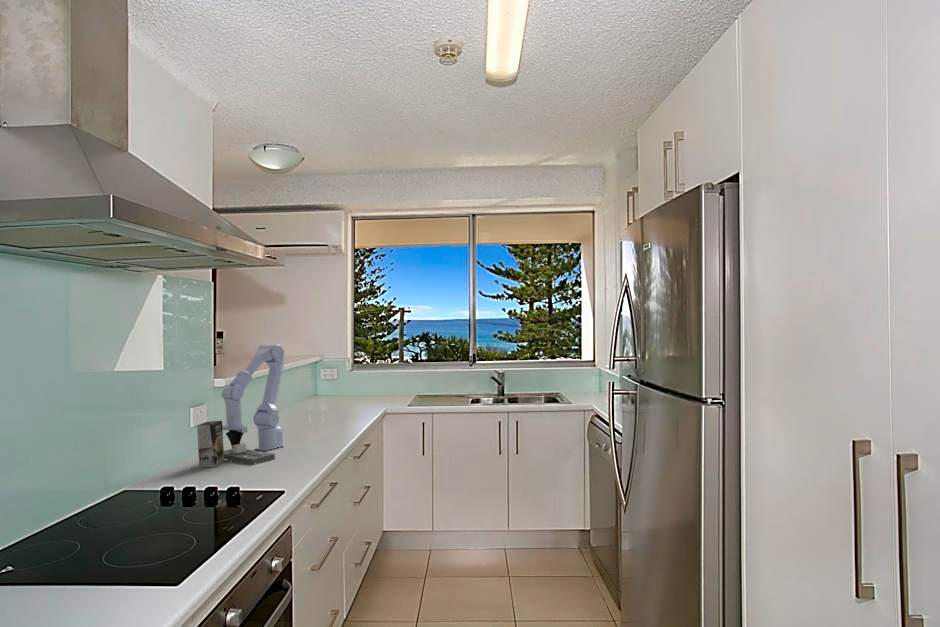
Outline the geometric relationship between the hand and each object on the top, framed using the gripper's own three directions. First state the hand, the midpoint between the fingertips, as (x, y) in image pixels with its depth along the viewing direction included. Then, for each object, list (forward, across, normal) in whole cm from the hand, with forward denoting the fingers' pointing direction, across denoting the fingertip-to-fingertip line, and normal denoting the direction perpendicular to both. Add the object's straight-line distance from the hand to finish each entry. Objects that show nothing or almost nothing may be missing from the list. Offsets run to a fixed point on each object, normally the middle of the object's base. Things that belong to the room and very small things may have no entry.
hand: (235, 449), depth 261 cm
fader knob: (+1, +3, 0) cm, 3 cm away
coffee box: (+3, +2, -12) cm, 13 cm away
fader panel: (+3, +6, 0) cm, 6 cm away
